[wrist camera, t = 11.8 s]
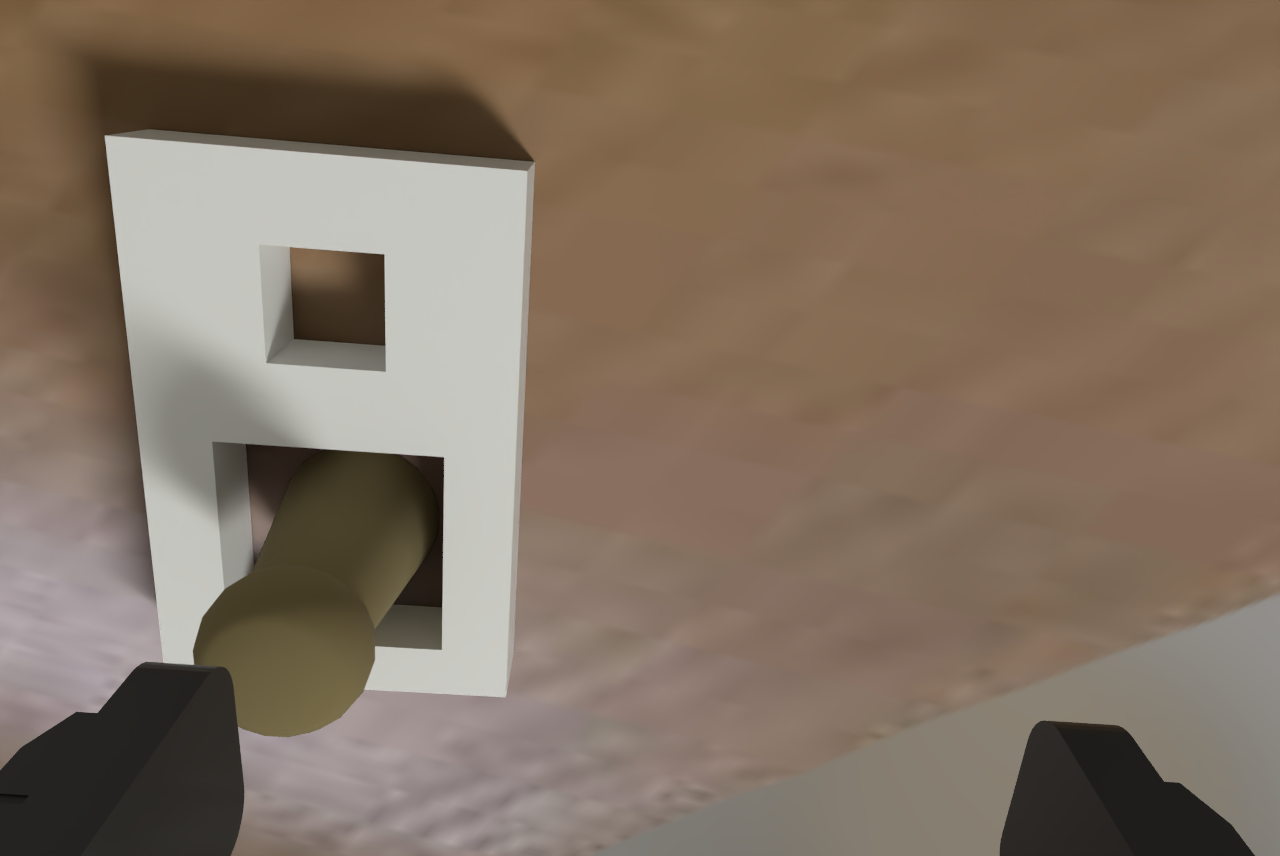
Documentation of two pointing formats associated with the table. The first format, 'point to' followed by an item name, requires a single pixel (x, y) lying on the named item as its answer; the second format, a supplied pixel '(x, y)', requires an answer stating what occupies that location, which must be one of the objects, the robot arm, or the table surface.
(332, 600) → the olive knobbed peg
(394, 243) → the socket board
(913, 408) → the table surface
